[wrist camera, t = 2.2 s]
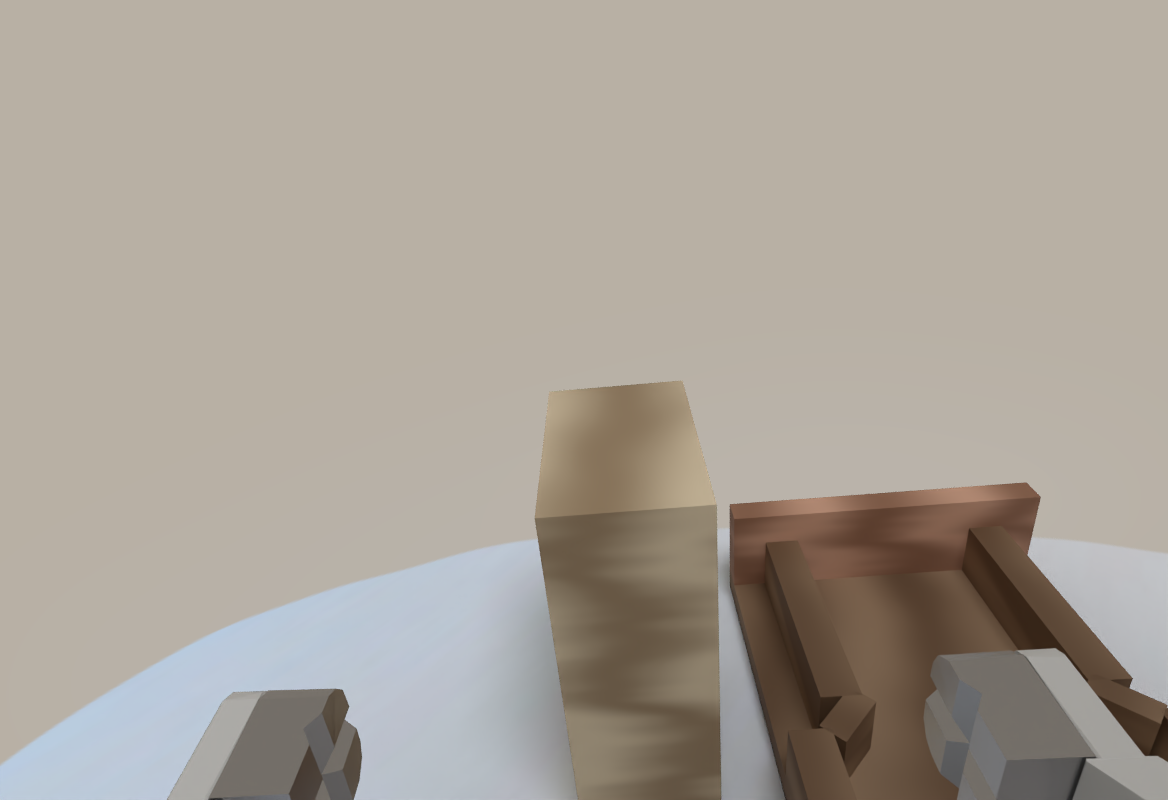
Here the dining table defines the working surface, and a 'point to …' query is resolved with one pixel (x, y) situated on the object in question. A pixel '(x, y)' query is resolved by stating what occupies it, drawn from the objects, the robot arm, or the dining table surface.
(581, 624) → the panel block
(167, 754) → the dining table surface
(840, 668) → the channel
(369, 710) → the dining table surface
